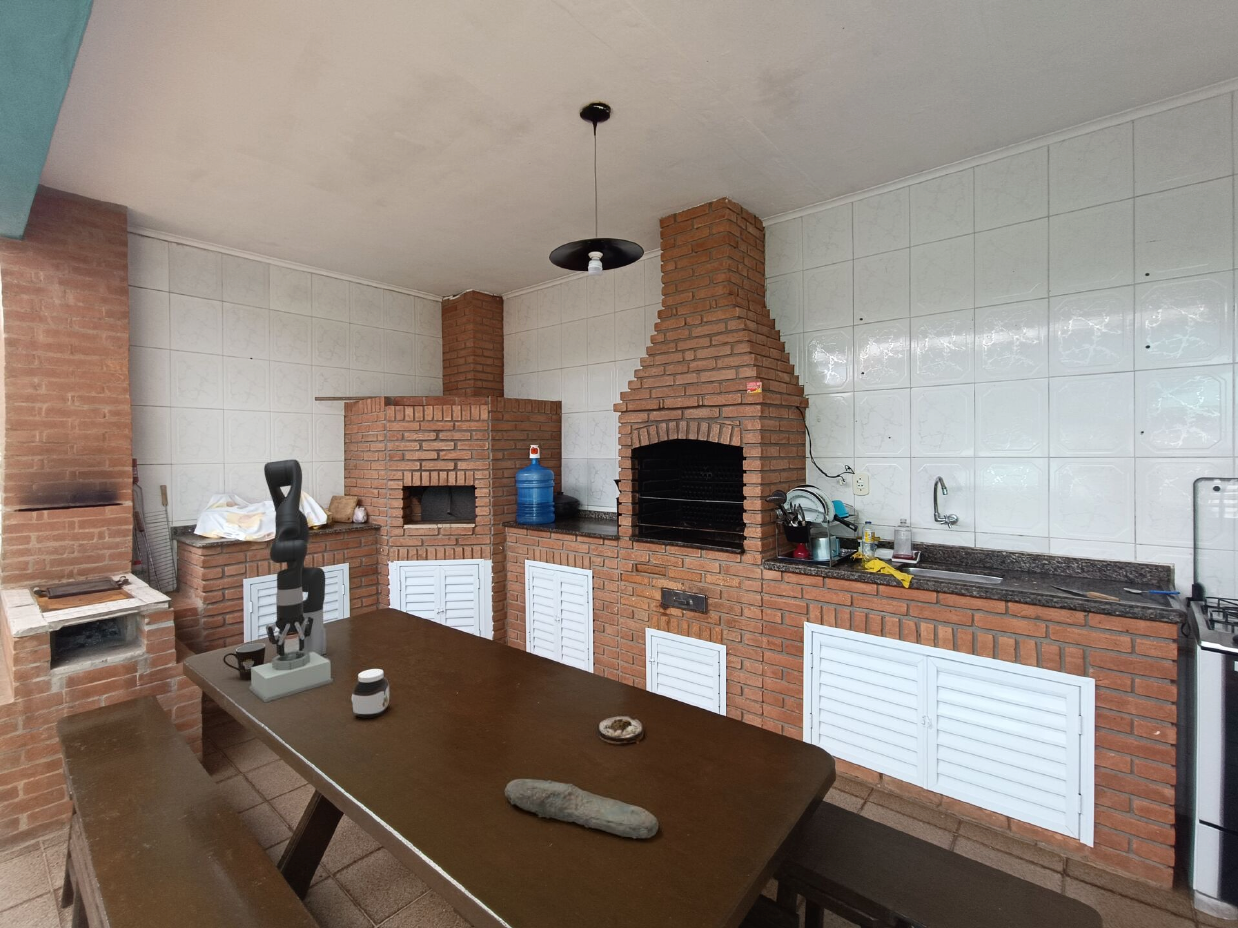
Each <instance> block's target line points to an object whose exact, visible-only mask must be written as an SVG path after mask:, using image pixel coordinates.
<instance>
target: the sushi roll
mask: <svg viewBox="0 0 1238 928" xmlns="http://www.w3.org/2000/svg"><path fill="white" fill-rule="evenodd" d="M596 730H597V734H598V738H599V740H601V741H602V742H603V743H605V744H609V745H614V746H615V745H622V746H625V745H629V744H631V743H636V744H639V742H640V741H641V740H642V739H643V736H644V730H645V729H644V727H643V725H642V723H641V722H640V721H639V720H638V719H637V718H635V719H634V718H631V716H629V715H627V716H623V715H622V716H621V715H620V716H619V715H618V716H613V717H608V718H605V719H603V720H602V721H600V722H599V723H598V725H597V729H596Z"/></svg>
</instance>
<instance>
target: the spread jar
mask: <svg viewBox="0 0 1238 928" xmlns="http://www.w3.org/2000/svg"><path fill="white" fill-rule="evenodd" d="M357 676H358V677H357V680H358V681H357V683H356V685H355V686H354V688H353V692H352V695H351V702H352V710H353V713H354V714H355V716H358V717H360V718H364V719H370V718H375V717H378V716H380V715H382V714H383V713H385V711H386V709H387V707H388V705H389V703H390V702H389V701H390V683H389V681H388V679H387V678H386V677H384V670H383V669H380V668H371V669H367V670H363V671H361V672H360V673H358V675H357Z"/></svg>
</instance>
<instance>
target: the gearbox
mask: <svg viewBox="0 0 1238 928" xmlns="http://www.w3.org/2000/svg"><path fill="white" fill-rule="evenodd" d="M331 671H332V670H331V660H330V659H329V658H328V657H326V658H325V657H324V656H323V655H321V656H320V655H318V654H317V653H315V652H311V653H307V652H305V651H300V657H299V658H297V659H294V660H289V661H284V660H282V656H280V655H278V654H277V656H275V657H274V658H272V659H271V662H268V663H264V664H263V665H259V666H255V667H251V680H250V682H251V684H250V685H249V686H248V689H249V690H250V691H251V692H252V693H253V694H255V695H256V696H257V697H258V698H260V700H262V701H263V702H265V703H267V702H268V703H269V702H271V701H274V700H278V699H280V698H284V697H287V696H291V695H294V694H297V693H301V692H305V691H307V690H310V689H314V688H315V689H316V688H318V687H321V686H324V685H325V686H326V685H328V684H332V683H333V682H334V679H333V678H331V677H332V675H331Z"/></svg>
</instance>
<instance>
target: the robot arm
mask: <svg viewBox="0 0 1238 928" xmlns="http://www.w3.org/2000/svg"><path fill="white" fill-rule="evenodd" d="M263 472H264V478H265V482H266V484H267V488H268V490H269V494H270V498H271V500H272V504H273V506H274V512H275V518H274V519H275V520H274V521H275V522H274V523H275V533H274V539H273V541H272V544H271V547H270V550H269V557H270V559H271V561H272V562H273V563H274V564H281V563H282V564H283V563H286V568H285V569H281V570H279V571H277V574H276V594H275V595H276V596H275V597H276V598H275V600H276V601H275V602H276V603H275V604H276V606H275V607H276V608H275V609H276V621H275V623H273V624H271V625H266V626H265V631H266V634H267V638H268V642H269V643H270V644H272V645H276V647H275V648H276V650H275V651H276V654H277V656H278V655H280V656H283V644H282V643H283V640H284V638H285V636H286V634H288V633H291V632H297V633H299V634H300V651H305V652H307V653H311V652H315V653H317V654H318V655H320V656H323V655H325V654H327V635H326V634H327V633H326V631H327V629H326V628H325V627H324V603H325V597H326V574H325V571H324V569H322V568H321V567H318V566H317V567H313V566H308V567H307V566H305V565H304V563H305V561H306V557H307V554H308V549H309V548H308V541H309V538H310V528H309V524H308V518H307V517H306V515H305V514H304V513H303V511H301V509H300V504H301V503H300V502H301V497H302V488H303V487H302V485H303V469H302V466H301V464H300V462H299V460H297V459H295V458H294V459H292V458H291V459H283V460H277V461H276V460H275V461H269V462H266V463H265V464H264V468H263ZM284 487H290V488H289V491H288V492H287V494H286V495H285V493H284V491H282V488H284ZM303 593H307V598H306V599H304V595H303ZM276 628H277V629H278V633H277V637H276V636H275V631H276Z"/></svg>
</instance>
